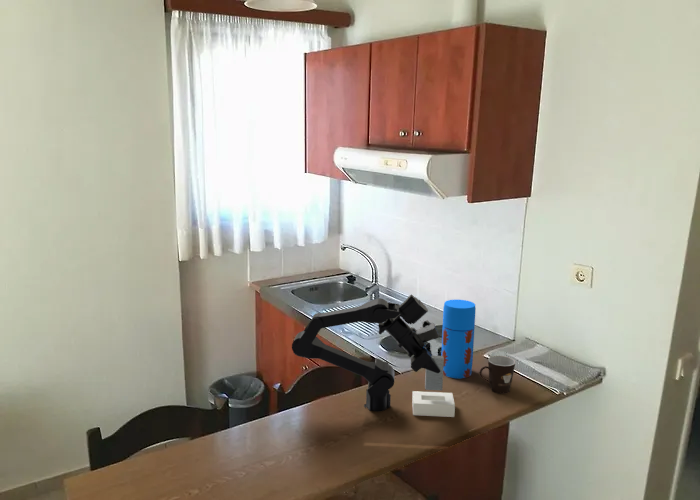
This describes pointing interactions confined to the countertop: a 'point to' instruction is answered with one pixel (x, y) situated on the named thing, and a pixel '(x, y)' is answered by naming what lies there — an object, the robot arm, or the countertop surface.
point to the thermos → (458, 338)
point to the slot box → (433, 404)
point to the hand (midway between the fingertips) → (439, 370)
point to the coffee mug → (500, 373)
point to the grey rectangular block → (435, 375)
